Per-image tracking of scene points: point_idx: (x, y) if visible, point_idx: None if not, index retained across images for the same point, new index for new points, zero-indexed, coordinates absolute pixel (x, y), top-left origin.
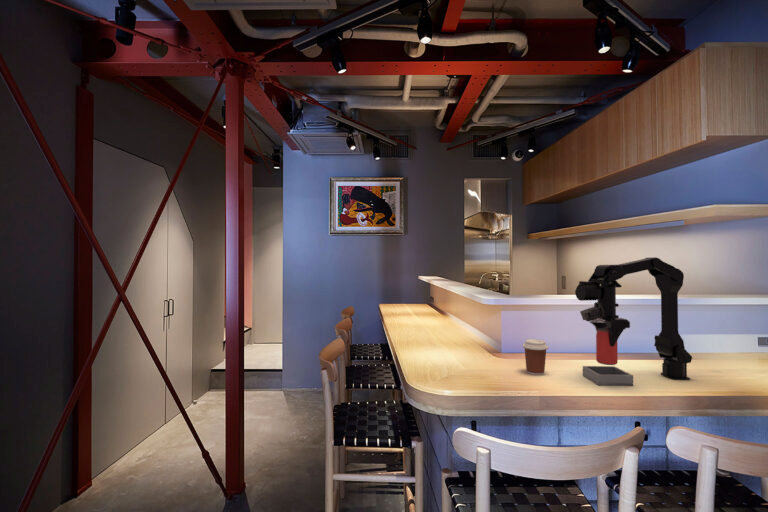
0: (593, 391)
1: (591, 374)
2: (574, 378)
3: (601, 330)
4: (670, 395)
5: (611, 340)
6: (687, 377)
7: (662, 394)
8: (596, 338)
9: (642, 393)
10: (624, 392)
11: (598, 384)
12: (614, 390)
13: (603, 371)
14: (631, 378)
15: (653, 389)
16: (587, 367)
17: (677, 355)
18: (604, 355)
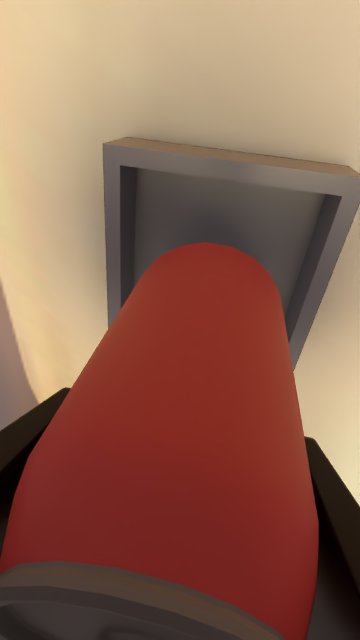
0: (2, 8)
1: (212, 154)
2: (302, 41)
3: (42, 578)
4: (23, 356)
5: (2, 438)
6: None
7: (29, 341)
8: (224, 395)
9: (26, 280)
10: (23, 209)
11: (126, 138)
12: (47, 177)
13: (295, 302)
14: None
15: (85, 354)
16: (335, 208)
17: None
18: (135, 290)
